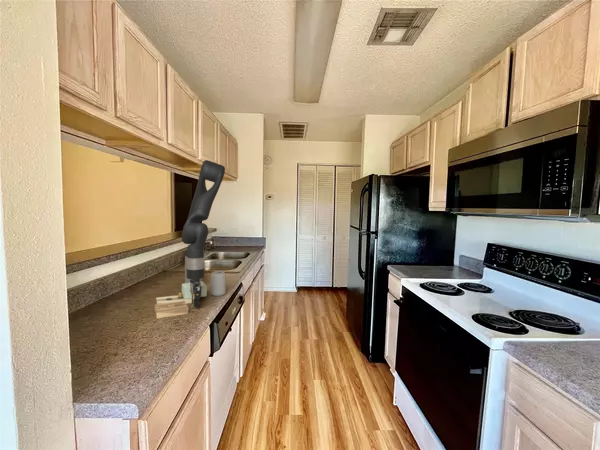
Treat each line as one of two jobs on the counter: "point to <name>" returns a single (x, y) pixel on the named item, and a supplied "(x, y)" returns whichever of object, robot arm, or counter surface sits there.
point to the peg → (193, 301)
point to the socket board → (171, 309)
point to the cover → (188, 294)
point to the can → (218, 283)
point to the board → (173, 299)
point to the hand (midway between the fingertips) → (195, 304)
